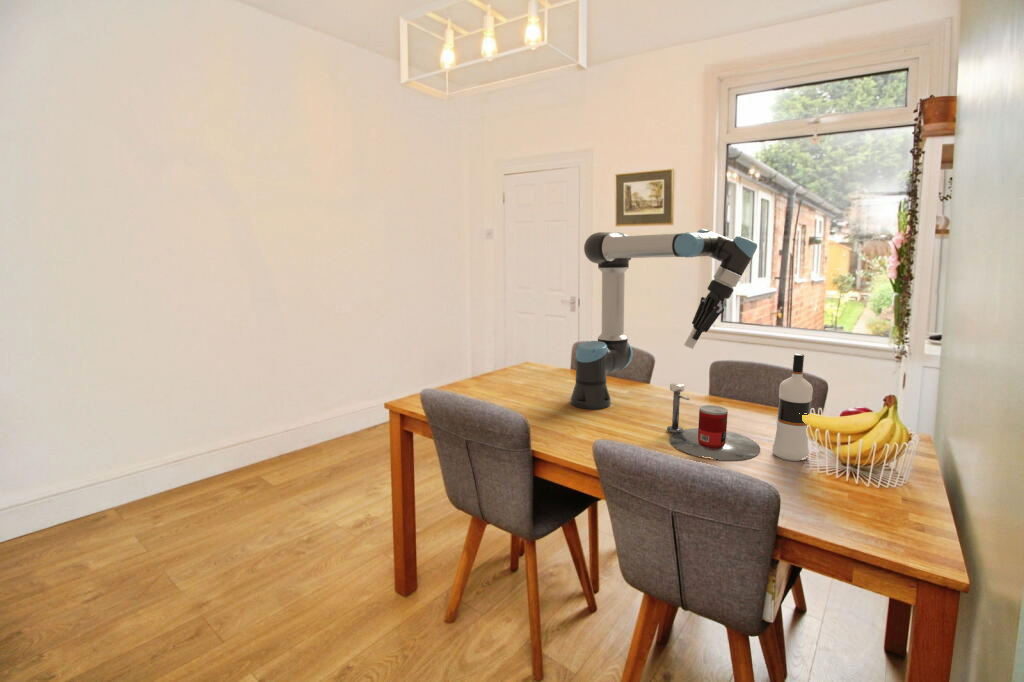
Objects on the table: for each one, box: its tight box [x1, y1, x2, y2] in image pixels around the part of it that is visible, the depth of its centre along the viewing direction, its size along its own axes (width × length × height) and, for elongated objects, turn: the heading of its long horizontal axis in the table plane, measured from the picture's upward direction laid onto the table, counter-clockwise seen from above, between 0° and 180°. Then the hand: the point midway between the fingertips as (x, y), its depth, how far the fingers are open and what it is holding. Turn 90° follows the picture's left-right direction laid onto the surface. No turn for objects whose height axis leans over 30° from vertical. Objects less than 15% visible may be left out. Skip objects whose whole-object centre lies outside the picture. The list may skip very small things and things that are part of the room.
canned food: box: [698, 404, 728, 448], centre depth 161 cm, size 8×8×11 cm
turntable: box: [669, 427, 761, 462], centre depth 163 cm, size 26×26×1 cm
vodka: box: [771, 353, 814, 462], centre depth 150 cm, size 9×9×30 cm
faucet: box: [666, 382, 691, 434], centre depth 171 cm, size 7×5×16 cm
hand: (688, 346), depth 179 cm, fingers closed
